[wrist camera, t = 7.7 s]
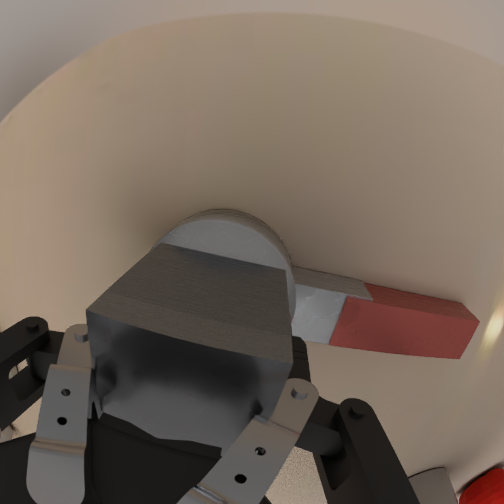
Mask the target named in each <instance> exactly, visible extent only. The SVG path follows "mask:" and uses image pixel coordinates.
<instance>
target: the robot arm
mask: <svg viewBox="0 0 504 504" xmlns="http://www.w3.org/2000/svg"><path fill="white" fill-rule="evenodd" d="M291 338H292V352H293V365H292V368H291V371H290V373H289V376H288V378H287V381H286V383H285V386H284V388H283V391H282V393H281V396H280V398H279V401H278V403H277V404H270V403H268V405H267V406H266V407H265V409H264V410H263V411H262V413H261V414H260V415H258V414H257V415H256V416H255V417H254V418H253V419H252V420H251V422H250V423H249V424H248V425H247V427H246V428H245V429H244V431H243V432H242V433H241V434H240V436H239V437H238V438H237V439H236V441H235V442H234V443H233V444H232V445H231V447H230V448H229V449H228V450H227V452H226V453H225V454H224V455H223V456H221V451H222V448H221V447H217V446H212V445H207V444H203V443H199V442H194V441H188V440H172V439H161V438H156V437H154V436H153V435H151V434H149V433H147V432H146V431H144V430H142V429H140V428H139V427H137V426H135V425H134V424H132V423H131V422H128V421H125V420H123V419H120V418H117V417H115V416H112V415H110V414H107V413H105V412H104V402H103V398H101V397H99V396H98V393H97V385H96V378H97V361H96V356H93V355H91V353H90V345H89V337H88V329H87V324H76V325H73V326H70V327H69V328H68V329H67V330H66V331H65V332H57V331H51V330H49V328H48V323H47V322H46V320H44V319H43V318H40V317H27V318H25V319H23V320H21V321H20V322H18V323H16V324H15V325H13V326H11V327H10V328H8V329H6V330H5V331H3V332H2V333H0V437H1V432H2V431H3V430H4V429H5V428H7V427H8V426H9V425H10V424H11V423H12V422H13V421H14V420H16V419H17V418H18V417H19V416H20V415H21V414H22V413H23V412H25V411H26V410H27V409H28V408H29V407H30V406H31V405H33V404H34V403H35V402H36V401H37V400H38V399H39V398H41V397H42V396H43V397H42V402H41V407H40V412H39V418H38V424H37V430H36V432H35V433H32V434H28V435H25V436H22V437H19V438H15V439H12V440H8V441H5V442H1V443H0V504H271V502H270V501H269V500H268V498H267V497H266V496H265V494H266V492H267V491H268V489H269V487H270V486H271V484H272V483H273V481H274V479H275V478H276V476H277V474H278V473H279V471H280V469H281V468H282V466H283V464H284V463H285V461H286V459H287V458H288V456H289V454H290V452H291V451H292V449H293V447H294V446H296V447H299V448H302V449H304V450H307V451H310V452H313V456H314V460H315V463H316V466H317V470H318V473H319V476H320V480H321V483H322V486H323V490H324V493H325V496H326V500H327V503H328V504H458V501H457V498H456V495H455V492H454V489H453V486H452V483H451V481H450V478H449V475H448V473H447V470H446V469H444V468H437V469H433V470H429V471H426V472H423V473H420V474H418V475H415V476H413V477H411V478H409V479H408V477H407V475H406V473H405V471H404V469H403V467H402V465H401V463H400V461H399V459H398V457H397V455H396V453H395V451H394V449H393V447H392V445H391V443H390V441H389V439H388V437H387V435H386V433H385V432H384V430H383V428H382V426H381V424H380V422H379V420H378V418H377V416H376V414H375V412H374V410H373V409H372V407H371V406H370V405H369V404H368V403H366V402H364V401H363V400H360V399H356V398H349V399H345V400H344V401H342V402H341V404H340V405H339V404H336V403H333V402H330V401H327V400H325V399H323V398H321V397H320V396H319V392H318V390H317V388H316V387H315V386H314V385H313V384H312V383H311V379H310V371H309V363H308V355H307V348H306V344H305V343H304V341H303V340H302V338H301V337H298V336H292V327H291ZM25 359H26V361H27V364H28V366H26V367H25V368H24V369H22V370H21V371H20V372H18V373H17V374H16V375H14V376H13V377H12V378H10V379H9V373H10V371H11V369H12V368H14V367H15V366H16V365H18V364H19V363H20V362H22V361H23V360H25Z"/></svg>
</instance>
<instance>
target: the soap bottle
mask: <svg viewBox="0 0 504 504" xmlns="http://www.w3.org/2000/svg"><path fill="white" fill-rule="evenodd" d="M12 436H13V430H12V428H11V426H10V425H9V426H8V427H7V428H5V429H4V430H3V431H2V432H1V437H0V443H1V442H5V441H8V440H12Z"/></svg>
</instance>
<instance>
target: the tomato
mask: <svg viewBox="0 0 504 504" xmlns="http://www.w3.org/2000/svg"><path fill="white" fill-rule="evenodd" d="M459 504H504V469H501V468H496V469H493V470H490V471H489V472H487V473H486V474H485V475H484V476H482V477H480V478H478V479H476V480H475V481H474V482H473V483H472V484H471V485H470V486H469V487H468V488H467V489H466V490H465V491H464V492H463V493H462V494H461V496H460V498H459Z"/></svg>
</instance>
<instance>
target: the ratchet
mask: <svg viewBox="0 0 504 504" xmlns="http://www.w3.org/2000/svg"><path fill="white" fill-rule="evenodd" d="M161 242H162V243H166V244H171V245H175V246H180V247H184V248H189V249H193V250H198V251H202V252H206V253H211V254H215V255H220V256H224V257H229V258H234V259H238V260H243V261H247V262H252V263H256V264H261V265H265V266H270V267H275V268H279V269H284V270H286V277H287V288H288V300H289V312H290V324H291V327H292V336H298V337H301V338H302V340H305V341H311V342H317V343H323V344H329V345H332V346H339V347H346V348H353V349H360V350H368V351H376V352H384V353H393V354H403V355H413V356H424V357H436V358H451V359H460V357H461V356H462V354H463V352H464V350H465V349H466V347H467V345H468V343H469V342H470V340H471V338H472V336H473V334H474V332H475V330H476V328H477V326H478V324H479V322H480V321H479V320H478V319H477V318H476V317H475V316H474V315H473V314H472V313H471V312H470V311H469V310H468V309H467V308H466V307H465V306H464V305H463V304H462V303H458V302H453V301H448V300H443V299H439V298H434V297H429V296H424V295H419V294H415V293H410V292H405V291H400V290H395V289H391V288H386V287H381V286H376V285H372V284H367V283H363V282H362V281H360V280H356V279H351V278H346V277H342V276H337V275H333V274H328V273H323V272H319V271H314V270H309V269H305V268H300V267H295V266H292V264H291V259H290V256H289V254H288V251H287V249H286V247H285V245H284V244H283V242H282V241H281V239H280V238H279V237H278V235H277V234H276V233H275V232H274V231H273V230H272V229H271V228H270V227H269V226H267V225H266V224H265V223H264V222H262V221H260V220H259V219H257V218H255V217H253V216H251V215H249V214H246V213H243V212H239V211H235V210H228V209H215V210H208V211H204V212H200V213H197V214H195V215H193V216H191V217H189V218H187V219H186V220H184V221H183V222H181V223H180V224H179V225H178V226H176V227H175V228H174V229H173V230H171V231H170V232H169V233H168V234H166V235H165V236H164V237H163V238H162V239H160V240H159V241H158V242H157V243H156V244H155V246H154V247H153V248H152V249H151V250H153V249H154V248H155V247H156V246H157V245H158V244H160V243H161Z"/></svg>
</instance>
